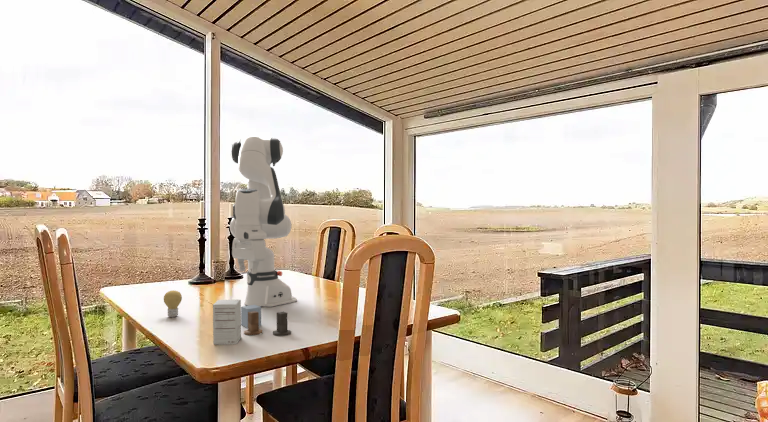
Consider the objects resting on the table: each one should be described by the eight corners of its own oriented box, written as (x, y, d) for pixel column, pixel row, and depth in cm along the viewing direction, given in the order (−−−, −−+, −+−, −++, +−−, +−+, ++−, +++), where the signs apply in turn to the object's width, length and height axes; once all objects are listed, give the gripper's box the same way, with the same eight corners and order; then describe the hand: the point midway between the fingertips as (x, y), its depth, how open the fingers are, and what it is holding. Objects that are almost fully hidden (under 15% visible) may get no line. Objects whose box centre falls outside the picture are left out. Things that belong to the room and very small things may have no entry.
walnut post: (257, 329, 170) (257, 309, 170) (265, 333, 165) (265, 312, 165) (241, 332, 166) (240, 311, 166) (248, 336, 161) (248, 315, 161)
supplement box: (218, 338, 159) (218, 299, 159) (241, 337, 160) (241, 299, 160) (212, 344, 152) (212, 304, 152) (236, 344, 153) (236, 303, 152)
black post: (285, 330, 169) (285, 309, 169) (294, 333, 165) (294, 313, 164) (269, 333, 165) (269, 312, 165) (278, 337, 161) (278, 315, 160)
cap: (254, 322, 179) (254, 304, 179) (261, 325, 176) (261, 307, 175) (241, 325, 176) (241, 306, 176) (247, 327, 172) (247, 309, 172)
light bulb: (175, 318, 185) (175, 292, 185) (160, 318, 187) (159, 291, 186) (185, 314, 192) (185, 289, 191) (170, 314, 193) (170, 288, 193)
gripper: (227, 233, 182) (227, 270, 181) (251, 234, 166) (252, 275, 166) (243, 232, 186) (243, 269, 186) (268, 234, 170) (269, 274, 170)
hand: (247, 272), depth 176 cm, fingers open, 8 cm apart
